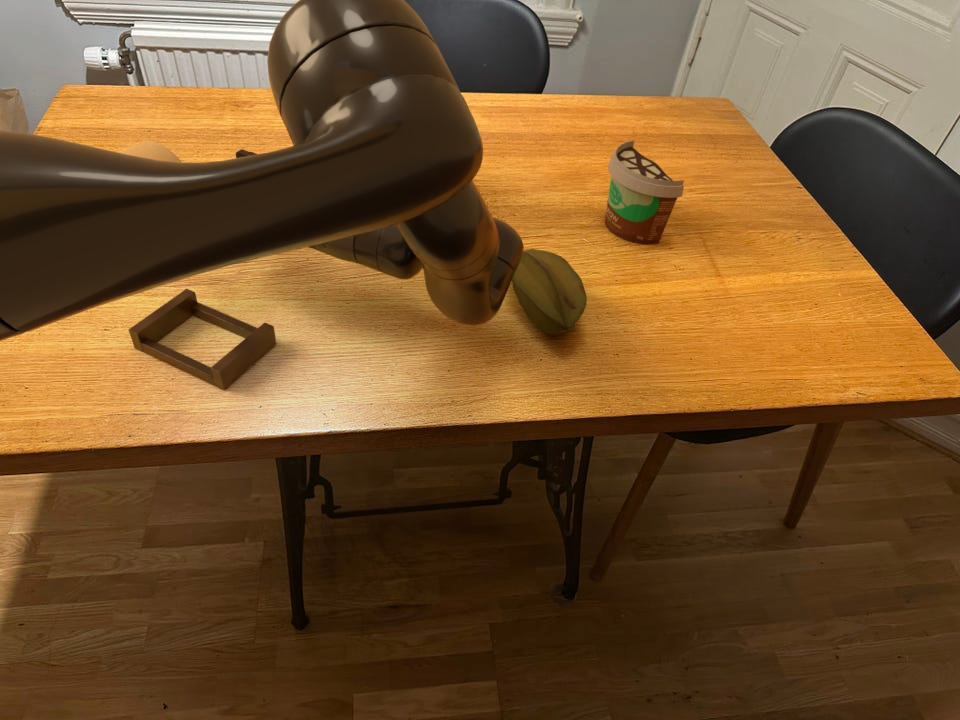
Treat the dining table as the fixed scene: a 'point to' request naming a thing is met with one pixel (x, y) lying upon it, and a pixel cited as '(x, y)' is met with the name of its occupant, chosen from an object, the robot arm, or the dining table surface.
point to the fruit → (549, 291)
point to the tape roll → (151, 151)
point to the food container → (639, 196)
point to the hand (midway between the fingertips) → (212, 173)
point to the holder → (187, 305)
